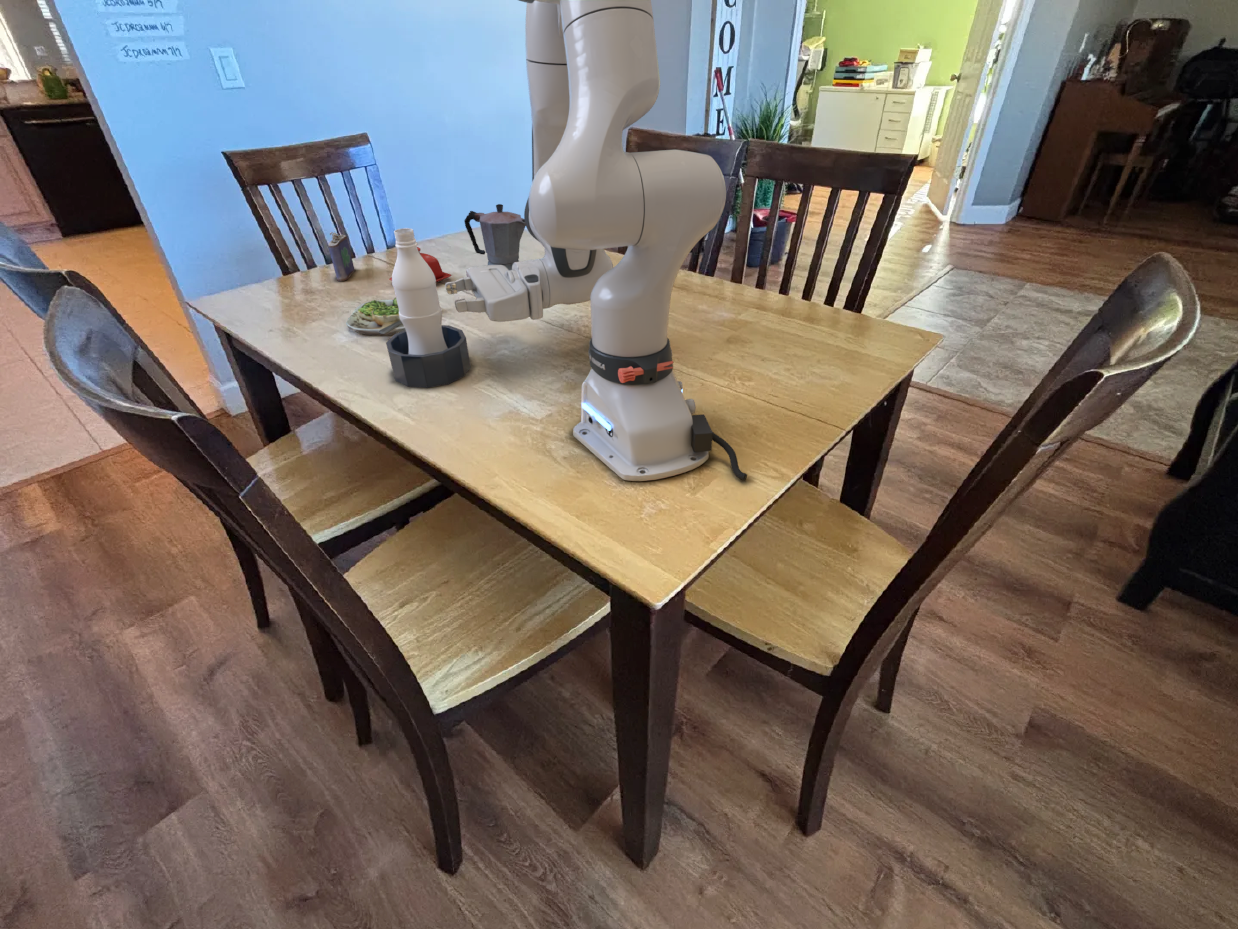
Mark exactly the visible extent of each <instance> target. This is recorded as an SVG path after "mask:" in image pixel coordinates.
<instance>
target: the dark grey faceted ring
mask: <svg viewBox="0 0 1238 929" xmlns="http://www.w3.org/2000/svg"><path fill="white" fill-rule="evenodd" d="M442 333H443V337H444V340H445V343H446V346H447V348H448V349H446V350H444V351H441V352H436V353H431V354H425V355H412V354H408V353H409V343H408V336H407V333H406V330H404V331H402V332H399V333H396V334H392V336H391V337H390V338H389V339H388V340H387V341H386V342H385V344H386V348H387V354H388V356H389V361H390V363H391V370H392V373H393V378H394V381H395V382H396V383H398V384H401V385H403V386H405V387H407V388H422V389H423V388H424V389H428V388H429V389H430V388H434V387H440V386H444V385H449V384H452V383H454V382H455V381H457V380H460V379H462V378H464V377H466V375H467V374H468V372H469V370H470V369H471V368H472V366H471V359H470V354H469V348H468V341H467V336H466V335H465V333H464V331H463V330H462V329H461V328H457V327H455V326H452V325H447V324H446V325H445V324H442Z"/></svg>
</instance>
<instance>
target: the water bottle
mask: <svg viewBox="0 0 1238 929" xmlns="http://www.w3.org/2000/svg"><path fill="white" fill-rule="evenodd" d="M393 234H394V237H395V241H394V242H395V245H394V246H395V248H396V249H397V250H396V251H397V253H396V254H397V255H396V260H395V264H394V266H393V270H392V275H391V278H392V281H391V286H392V287H393V290H394V294H395V298H396V299H397V304H398V308H399V317H400V320H401V322H402V323H403V325H404V327H405V330H406V333H407V336H408V343H409V353H408V354H412V355H425V354H431V353H436V352H441V351H444V350H446V349H448V348H447V346H446V343H445V340H444V337H443V333H442V325H443V324H442V322H443V321H442V320H443V310H442V307H441V304H440V300H439V294H438V288H437V283H436V279H435V276H434V273H433V272H432V270H431V268H430V267H429V266H428V264H427V263H426V262H425V260H424V259H423V258H422V256H421V255H420V253H421V252H420V253H419V251H418V249H417V247H418V245H419V244H418V242H417V239H416V237H415V233H414V229H413V228H409V227H403V228H398V229H395V230H394V231H393Z"/></svg>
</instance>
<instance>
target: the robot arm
mask: <svg viewBox="0 0 1238 929" xmlns="http://www.w3.org/2000/svg"><path fill="white" fill-rule="evenodd" d="M518 1H519V2H523V3H526V6H525V7H526V8H525V25H524V26H525V27H524V28H525V31H524V32H525V35H524V39H525V40H524V41H525V42H524V43H525V44H524V46H525V47H524V48H525V65H526V67H525V68H526V78H527V79H526V80H527V88H528V89H527V90H528V97H529V103H530V118H531V185H530V188H529V193H528V197H527V200H526V203H525V206H524V212H523V217H524V218H523V219H524V220H525V224H526V226H525V228H526V229H527V231H528V233H529V235H530V236H531V237H533V239H535V240H536V241H538V242H539V243H540V244H541V246H542V247H543V248H544V255H543V257H542V258H535V259H528V260H519V262H514V263H513V265H512V270H508V269H507V267H506V266H504V265H488V264H485V265H474V266H471V267H468V268H466V269H465V273H466V276H463V277H461V278H458V279H456V280H453V281H447V282H445V286H444V287H445V291H446V293H447V294H448V295H457V294H458V293H459V292H462V291H466V292H467V291H471V292H472V293H473V295H474V297H475V299H466V298H460V299H455V301H454V308H455V309H456V312H458V313H465V312H466V313H467V312H468V313H478V314H481V313H485V315H486V316H487V317H488V319H489V320H490V321H492V322H497V323H501V322H502V323H503V322H504V323H505V322H512V321H513V322H514V321H521V320H526V319H528V318H530V319H531V320H541V319H543V318H544V310H545V309H550V308H552V307H554V306H556V305H567V306H570V305H576V304H581V303H585V302H586V303H587V302H590V325H591V338H590V339H589V341H588V359H589V366H590V370H589V372H588V374H587V375H586V376H587V377H586V378H585V379H584V381H583V382H582V384H581V400H580V401H581V403H580V406H581V407H580V416H581V417H580V421H579V422H578V423H576V425H575V426H574V427H573V430H572V431H573V432H572V436H573V437H574V438H575V439H576V440H577V441H578V442H579V443H581V444H582V445H583V446H584V447H585V448H586V449H588V451H590V452H591V453H592V454H593V455H594V456H595V457H596V458H597V459H599V461H601V462H602V463H604V464H605V466H606V467H608V468H609V469H610V470H611V471H612V472H613V473H615V474H616V475H617V476H618V477H619V478H620V479H622V480H624V481H632V482H645V481H647V482H649V481H655V480H661V479H665V478H670V477H674V476H677V475H681V474H684V473H686V472H687V473H688V472H689V471H692V470H694V469H697V468H698V467H700V466H701V465H703V464H704V463H706V462H707V461H708V459H709V458H710V457H709V452H712V449H713V442H714V443H715V444H717V445H718V446H720V447H721V448H722V449H723V450H724V451H725V452H726V454H727V455H728V457H729V462H730V463H729V464H730V468H731V471H732V473H733V475H734V476H735V477H736V478H737V479H740V480H742V481H746V479H747V478H748V474H747V473H745V472H742V470H741V469H740V466H739V463H738V458H737V454H736V451H735V450H734V448H733V447H732V446H731V444H729V443H728V442H727V441H726V440H725V439H723V438H722V437H721V436H719V435H718V434H717V433H715V432H714V431H713V430H712V428H711V426H710V424H709V422H708V420H707V417H706V415H705V414H703V413H702V414H696V412H697V408H696V407H697V406H696V402H695V399H693V398H687V399H685V398H686V397H685V396H684V392H683V390H684V388H683V386H684V385H683V381H682V380H678V379H677V377H676V374H675V373H674V360H673V350H672V347H671V340H670V338H669V337H668V336H669V335H668V334H669V318H670V307H671V299H672V293H673V288H674V286H675V282H676V279H677V276H678V274H679V272H680V270H681V267H682V265H683V264H684V262H685V260H686V259H687V257H688V256H689V254H690V252H691V251H692V249H694V247H696V245H697V244H698V243H699V241H701V239H703V237H704V236H706V235H707V234H708V233H710V232H711V231H712V230H713V229H714V228H715V227H716V225H717V224H718V222H719V220H720V219H721V217H722V214H723V212H724V209H725V205H726V200H727V187H726V180H725V176H724V174H723V172H722V170H721V168H720V166H719V164H718V163H717V162H716V160H715V159H714V158H713V156H711V155H709V154H705V153H700V152H694V151H688V150H683V149H666V150H665V149H664V150H650V151H637V152H636V151H635V152H628V151H624V147H623V131H624V130H626V129H627V128H629V127H630V126H632V125H633V124H635V123H636V122H638V121H639V120H641V119H642V118H643V117H644V116H645V115H646V114H648V113H649V112H650V111H651V109H652V108H653V107H654V105H655V104H656V102H657V99H658V97H659V93H660V90H661V89H660V88H661V76H660V66H659V57H658V48H657V40H656V39H657V38H656V29H655V21H654V13H653V5H652V0H518ZM622 247H623V248H624V247H627V249H626V251H625V253H624V254H623V256H622V258H621V259H620V260H619V262H618V263H617V264H616V265H615V266H614V264H613V261H612V258H611V257H610V255H608V254H607V253H606V251H605V249H613V248H622Z"/></svg>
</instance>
